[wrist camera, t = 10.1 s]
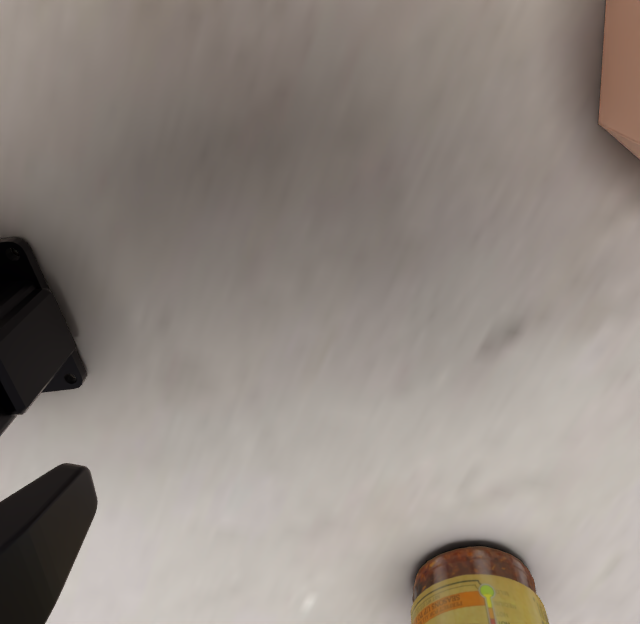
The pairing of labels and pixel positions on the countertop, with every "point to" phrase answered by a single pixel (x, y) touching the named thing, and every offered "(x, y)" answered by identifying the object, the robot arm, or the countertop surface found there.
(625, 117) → the bowl
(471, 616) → the sauce bottle
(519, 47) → the countertop surface
